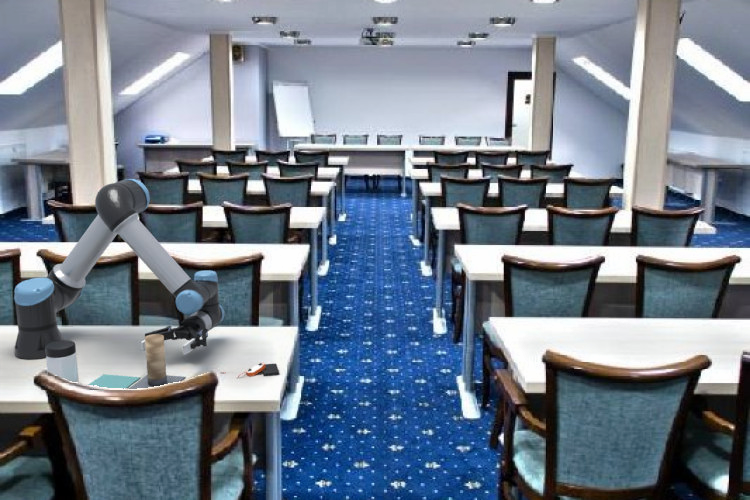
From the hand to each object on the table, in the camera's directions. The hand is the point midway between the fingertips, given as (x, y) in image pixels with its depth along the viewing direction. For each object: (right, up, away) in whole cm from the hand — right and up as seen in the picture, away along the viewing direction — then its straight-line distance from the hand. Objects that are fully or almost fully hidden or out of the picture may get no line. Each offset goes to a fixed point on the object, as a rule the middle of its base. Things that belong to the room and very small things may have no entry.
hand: (162, 348), depth 224 cm
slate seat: (-1, -10, -2) cm, 10 cm away
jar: (-28, -10, -2) cm, 30 cm away
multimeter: (+25, -9, +4) cm, 27 cm away
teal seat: (-14, -10, -3) cm, 18 cm away
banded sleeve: (-1, -10, -2) cm, 10 cm away
